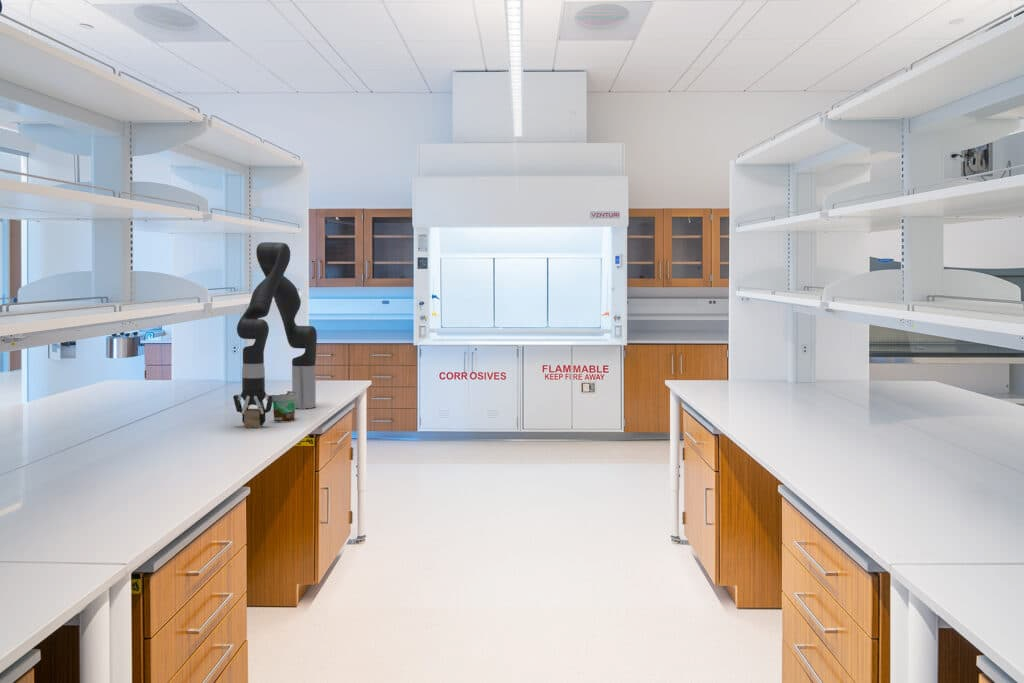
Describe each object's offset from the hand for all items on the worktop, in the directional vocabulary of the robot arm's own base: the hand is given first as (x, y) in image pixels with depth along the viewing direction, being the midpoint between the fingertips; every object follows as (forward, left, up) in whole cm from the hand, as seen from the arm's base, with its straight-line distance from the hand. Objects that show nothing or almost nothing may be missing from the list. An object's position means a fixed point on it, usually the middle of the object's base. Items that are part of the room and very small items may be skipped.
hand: (253, 423), depth 277 cm
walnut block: (0, 0, -1) cm, 1 cm away
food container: (-14, +8, -1) cm, 16 cm away
